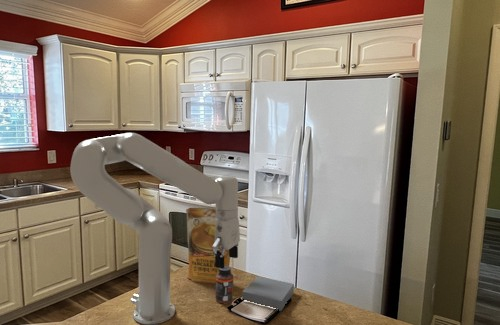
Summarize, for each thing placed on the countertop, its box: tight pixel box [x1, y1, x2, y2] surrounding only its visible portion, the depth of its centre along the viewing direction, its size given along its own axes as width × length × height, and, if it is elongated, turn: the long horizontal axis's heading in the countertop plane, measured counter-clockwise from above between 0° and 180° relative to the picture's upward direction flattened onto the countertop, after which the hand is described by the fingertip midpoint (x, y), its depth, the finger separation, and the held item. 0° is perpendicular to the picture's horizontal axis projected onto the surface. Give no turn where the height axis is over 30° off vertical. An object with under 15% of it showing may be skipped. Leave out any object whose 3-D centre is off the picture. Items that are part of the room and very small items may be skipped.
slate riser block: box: [241, 275, 295, 312], centre depth 119 cm, size 14×14×4 cm
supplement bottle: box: [215, 266, 234, 304], centre depth 116 cm, size 6×6×11 cm
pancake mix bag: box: [185, 207, 231, 285], centre depth 130 cm, size 7×19×28 cm, turn 80°
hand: (226, 262), depth 115 cm, fingers open, 9 cm apart
